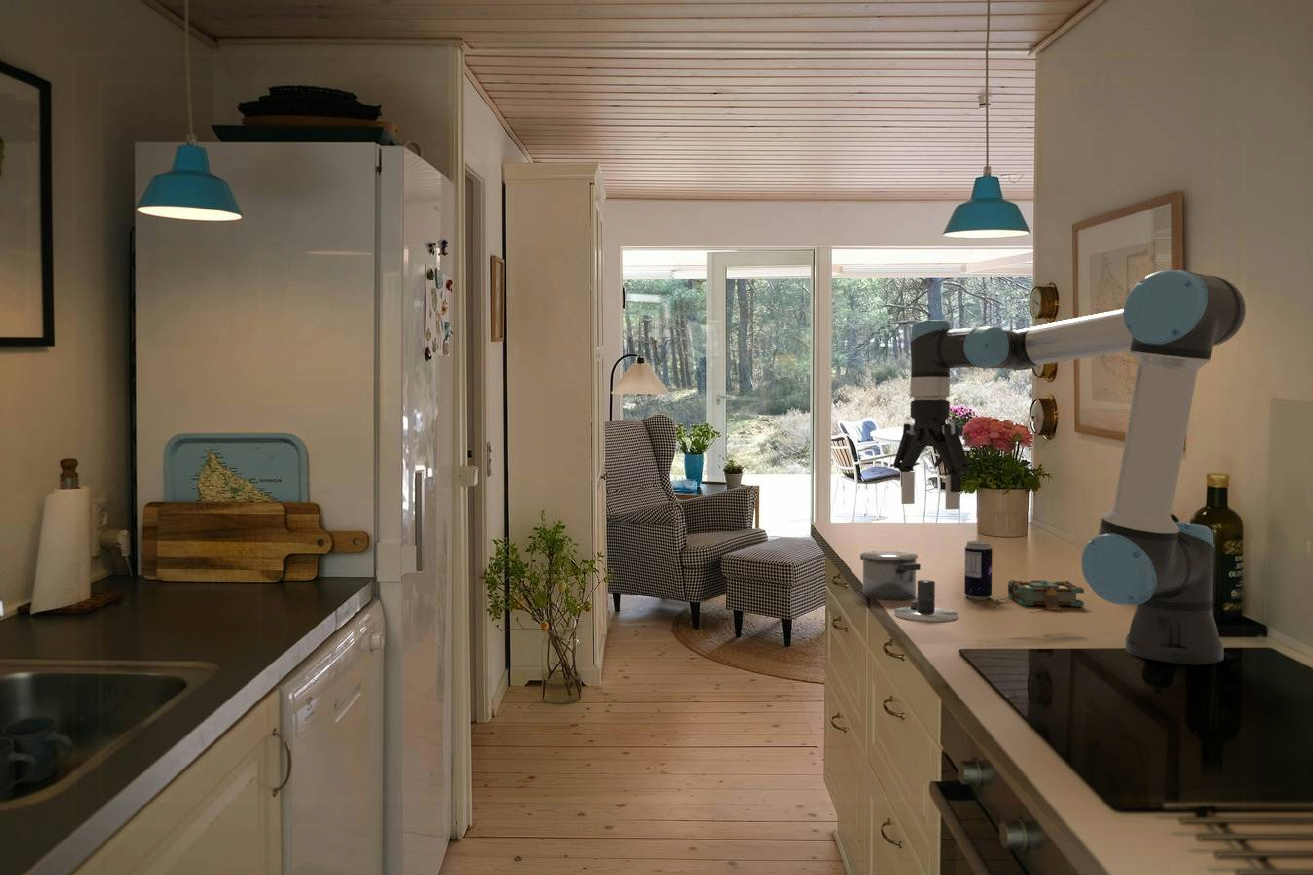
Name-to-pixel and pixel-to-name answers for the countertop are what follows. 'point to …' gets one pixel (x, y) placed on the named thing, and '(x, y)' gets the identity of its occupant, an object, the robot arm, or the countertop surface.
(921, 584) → the lid
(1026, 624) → the countertop surface
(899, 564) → the pot
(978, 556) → the beverage can
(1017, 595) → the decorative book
